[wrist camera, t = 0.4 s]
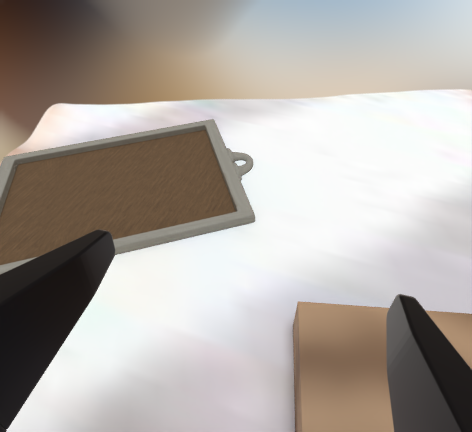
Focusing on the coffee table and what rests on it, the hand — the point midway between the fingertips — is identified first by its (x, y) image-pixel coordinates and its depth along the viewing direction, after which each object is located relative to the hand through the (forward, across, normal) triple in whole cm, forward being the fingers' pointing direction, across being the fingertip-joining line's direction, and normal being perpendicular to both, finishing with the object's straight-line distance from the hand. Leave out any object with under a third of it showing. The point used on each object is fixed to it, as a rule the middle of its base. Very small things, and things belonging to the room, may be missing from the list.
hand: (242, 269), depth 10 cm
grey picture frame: (+20, +18, +14) cm, 30 cm away
